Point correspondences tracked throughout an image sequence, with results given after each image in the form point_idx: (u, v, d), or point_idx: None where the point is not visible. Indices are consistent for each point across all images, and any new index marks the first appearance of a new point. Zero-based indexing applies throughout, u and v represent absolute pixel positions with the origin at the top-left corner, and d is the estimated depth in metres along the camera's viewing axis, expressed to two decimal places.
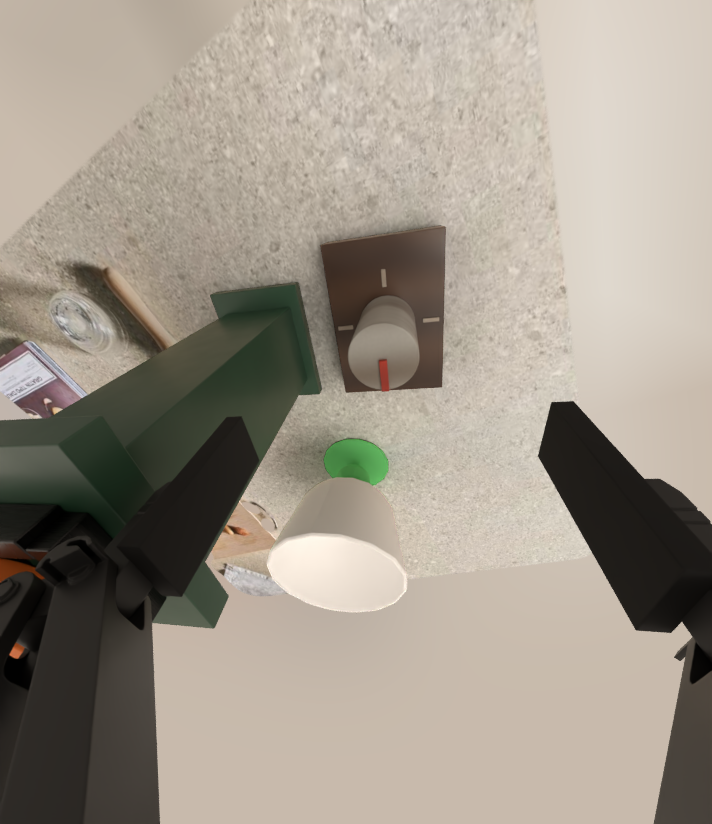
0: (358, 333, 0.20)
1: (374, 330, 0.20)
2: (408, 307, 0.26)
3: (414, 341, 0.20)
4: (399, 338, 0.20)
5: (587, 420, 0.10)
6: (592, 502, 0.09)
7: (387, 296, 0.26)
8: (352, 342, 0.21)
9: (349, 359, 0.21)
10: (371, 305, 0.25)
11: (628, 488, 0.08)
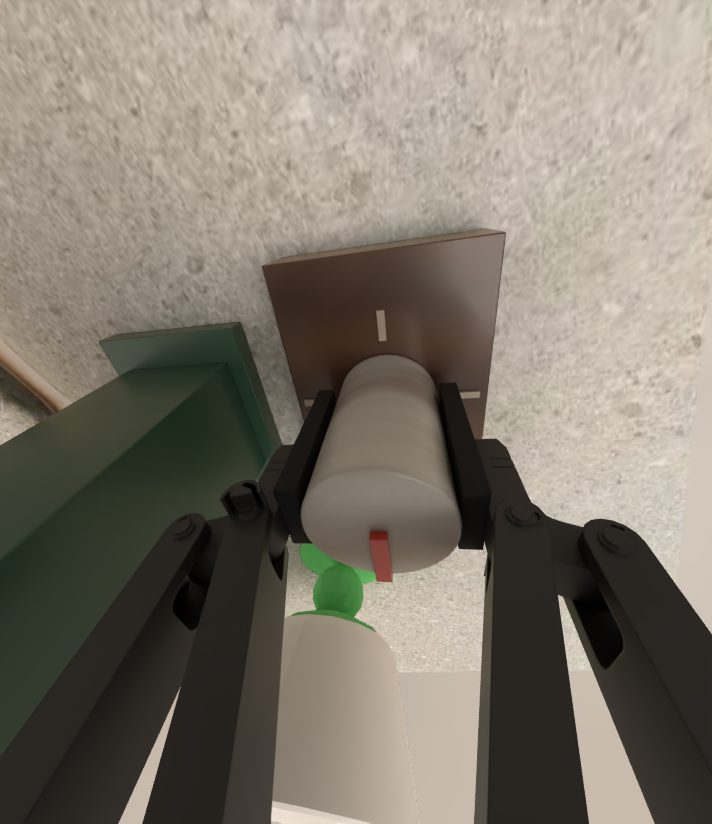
0: (320, 484, 0.09)
1: (357, 483, 0.08)
2: (427, 380, 0.14)
3: (453, 507, 0.08)
4: (417, 500, 0.08)
5: (458, 396, 0.13)
6: None
7: (388, 357, 0.14)
8: (308, 499, 0.09)
9: (304, 525, 0.10)
10: (358, 379, 0.13)
11: (458, 442, 0.10)
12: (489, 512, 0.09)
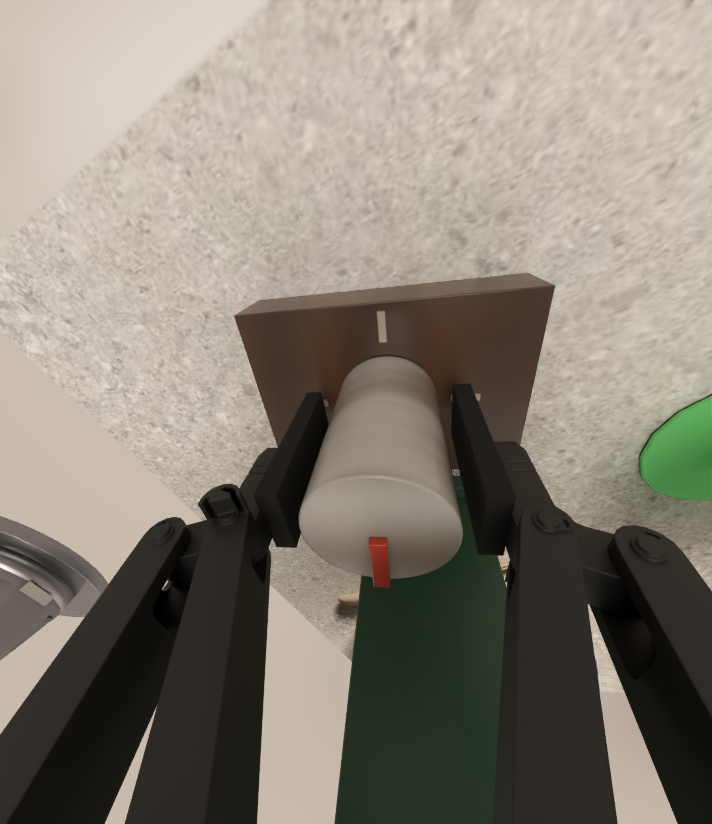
0: (320, 488, 0.08)
1: (358, 488, 0.08)
2: (427, 382, 0.14)
3: (454, 514, 0.08)
4: (418, 507, 0.08)
5: (473, 397, 0.12)
6: (465, 461, 0.11)
7: (389, 359, 0.14)
8: (307, 503, 0.09)
9: (302, 529, 0.10)
10: (358, 380, 0.13)
11: (477, 445, 0.10)
12: (513, 518, 0.08)
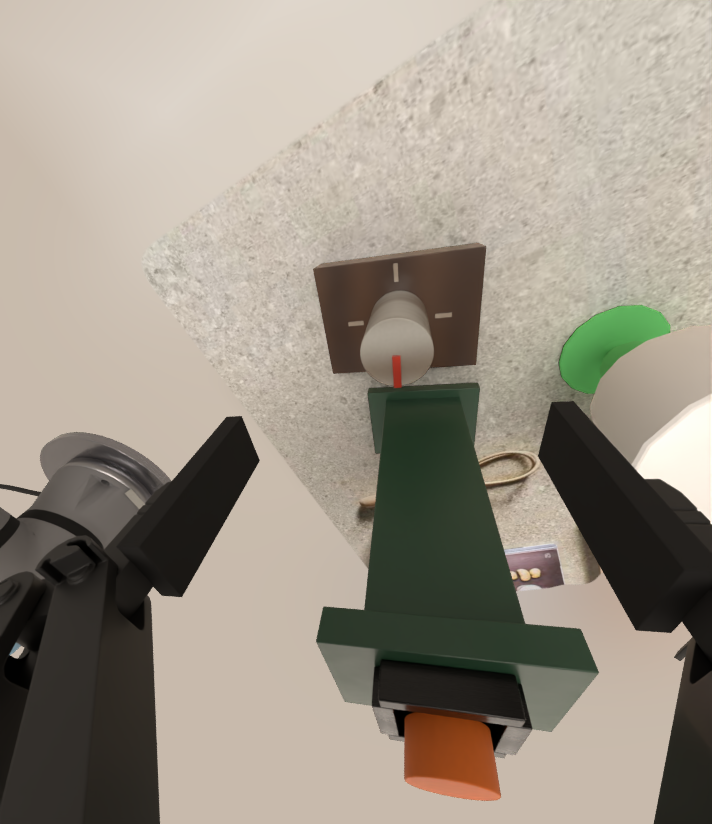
0: (372, 327, 0.20)
1: (388, 325, 0.20)
2: (421, 303, 0.25)
3: (429, 337, 0.20)
4: (414, 333, 0.20)
5: (587, 420, 0.10)
6: (592, 502, 0.09)
7: (399, 291, 0.25)
8: (365, 337, 0.20)
9: (361, 354, 0.21)
10: (383, 300, 0.24)
11: (628, 488, 0.08)
12: None
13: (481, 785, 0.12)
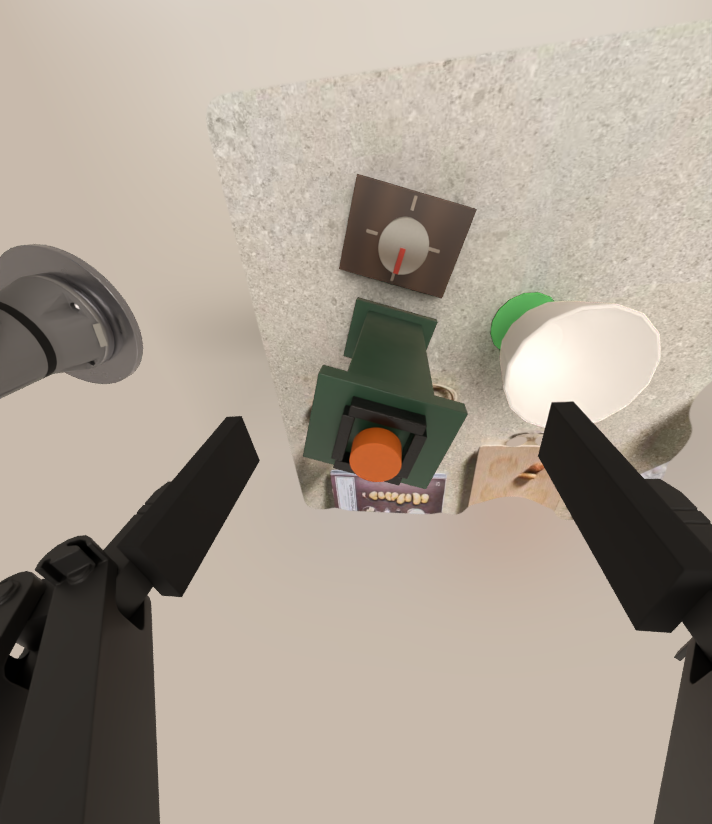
0: (395, 220, 0.29)
1: (406, 222, 0.29)
2: None
3: (428, 242, 0.29)
4: (420, 235, 0.29)
5: (587, 420, 0.10)
6: (592, 502, 0.09)
7: None
8: (388, 226, 0.29)
9: (380, 239, 0.30)
10: (400, 217, 0.34)
11: (628, 488, 0.08)
12: None
13: (395, 451, 0.22)
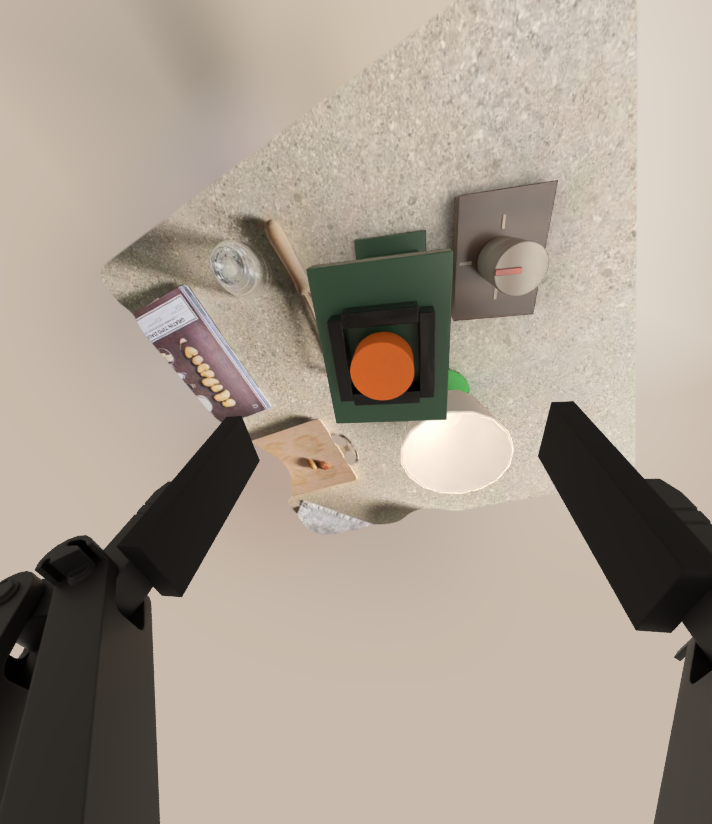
0: (545, 250, 0.29)
1: (544, 263, 0.29)
2: None
3: (528, 292, 0.31)
4: (533, 281, 0.30)
5: (587, 420, 0.10)
6: (592, 502, 0.09)
7: None
8: (540, 245, 0.28)
9: (527, 242, 0.28)
10: None
11: (628, 488, 0.08)
12: None
13: (408, 386, 0.19)
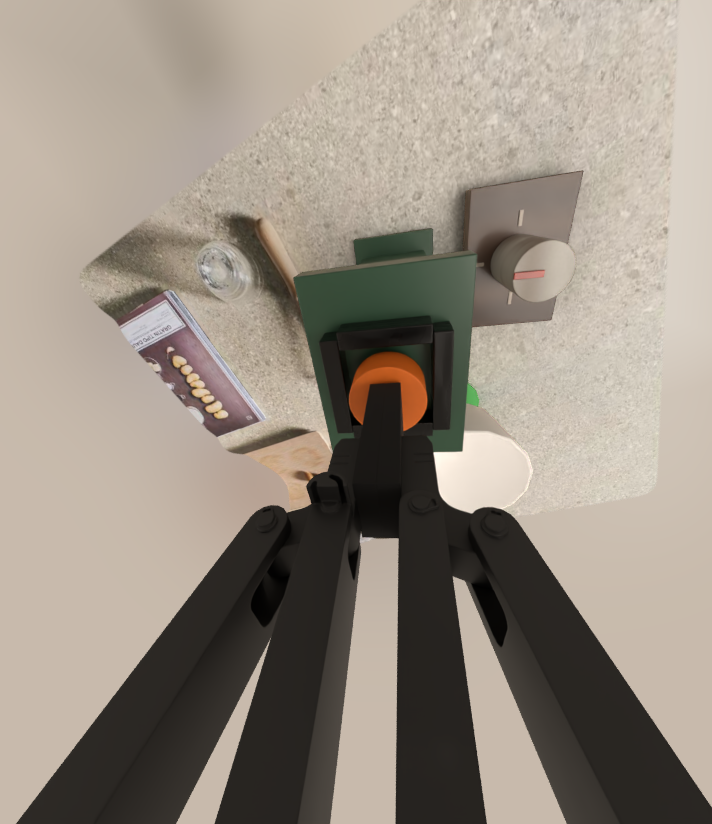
0: (572, 250, 0.25)
1: (571, 265, 0.25)
2: None
3: None
4: (557, 286, 0.26)
5: (398, 395, 0.13)
6: None
7: None
8: (566, 245, 0.25)
9: (551, 241, 0.25)
10: None
11: (385, 438, 0.11)
12: (400, 502, 0.09)
13: (420, 418, 0.16)
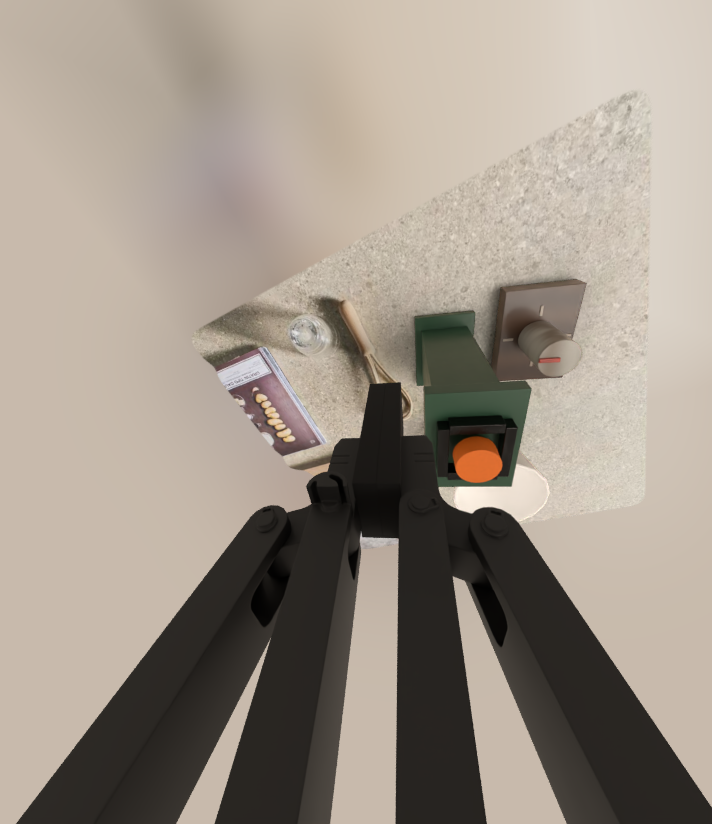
0: (579, 346, 0.37)
1: (578, 355, 0.37)
2: None
3: (564, 374, 0.39)
4: (569, 367, 0.38)
5: (398, 395, 0.13)
6: None
7: None
8: (575, 343, 0.37)
9: (565, 341, 0.37)
10: None
11: (385, 438, 0.11)
12: (400, 502, 0.09)
13: (496, 475, 0.28)
